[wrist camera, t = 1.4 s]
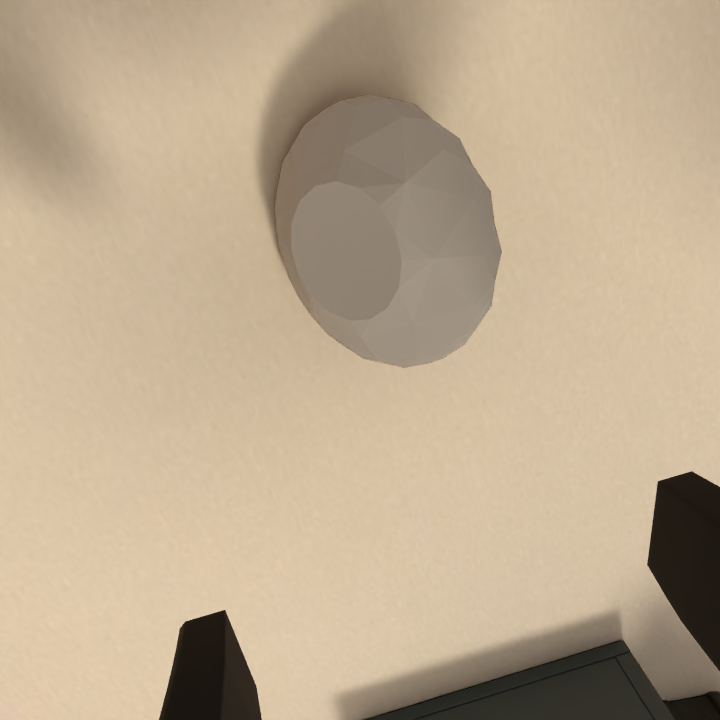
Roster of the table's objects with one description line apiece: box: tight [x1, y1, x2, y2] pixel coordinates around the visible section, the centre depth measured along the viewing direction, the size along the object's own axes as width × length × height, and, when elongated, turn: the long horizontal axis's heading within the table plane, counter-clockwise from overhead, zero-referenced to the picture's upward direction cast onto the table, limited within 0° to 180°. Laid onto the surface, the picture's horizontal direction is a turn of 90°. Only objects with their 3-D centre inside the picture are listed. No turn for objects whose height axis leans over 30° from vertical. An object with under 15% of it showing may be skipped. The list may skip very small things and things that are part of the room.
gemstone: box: [275, 95, 502, 368], centre depth 16 cm, size 6×6×5 cm
